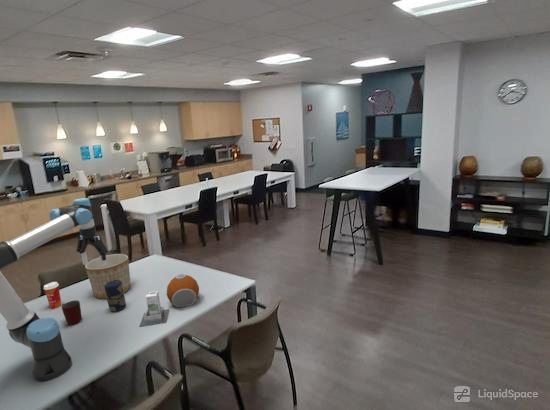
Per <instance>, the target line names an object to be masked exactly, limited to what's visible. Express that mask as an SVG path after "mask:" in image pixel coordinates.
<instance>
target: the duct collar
mask: <svg viewBox="0 0 550 410" xmlns="http://www.w3.org/2000/svg"><path fill="white" fill-rule="evenodd" d="M169 314H170V309H169V308H167V309H164V306H161V312H160V314H158V315H151V316H149V311H148V308H146V311H145V312H144V314H143V316H142V319H141V321H140V324H139V328H141V327H148V326H149V327H150V326H154V325H160V324H161V323H162V324H167V321H168V317H169Z"/></svg>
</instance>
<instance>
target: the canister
mask: <svg viewBox="0 0 550 410" xmlns="http://www.w3.org/2000/svg"><path fill="white" fill-rule="evenodd" d="M104 287H105V291H106V296H107V298H106V300H107V306H108V309H109V310H110V312H119V311H122V310H123V309H124V308H126V306H127V303H126V302H127V301H126V298H125V293H124V291H123V287H122V282H121V281H120V280H113V281H110V282H108V283H106V284H105V286H104Z"/></svg>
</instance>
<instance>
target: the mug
mask: <svg viewBox="0 0 550 410" xmlns="http://www.w3.org/2000/svg"><path fill="white" fill-rule="evenodd" d="M61 310H62V313H63V316H64V318H65V321H66V325H67V326H74V325H77V324H79V323H81V322H82V321H83V320H82V319H83V318H82V309H81V303H80V301H79V300H70V301H68V302H64V303H61Z"/></svg>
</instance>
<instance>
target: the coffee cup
mask: <svg viewBox="0 0 550 410" xmlns="http://www.w3.org/2000/svg"><path fill="white" fill-rule="evenodd" d="M59 285H60V284H59V283H58V282H57V281H52V282H49V283H46V284H44V285H43V291H44V292H45V296H46V299H47V302H48V305H49V308H50V309H54V310H55V309H57V308H59V306H60V307H62V299H61V293H60V288H59Z"/></svg>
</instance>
